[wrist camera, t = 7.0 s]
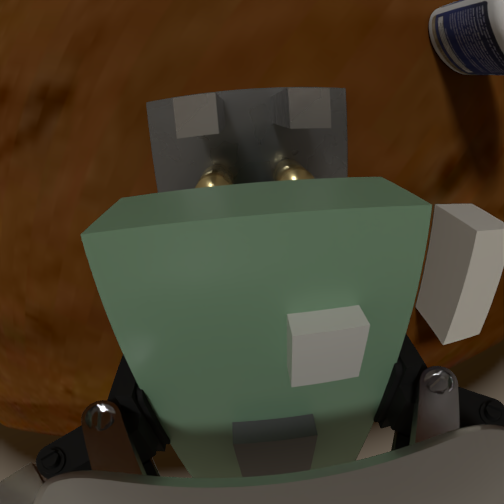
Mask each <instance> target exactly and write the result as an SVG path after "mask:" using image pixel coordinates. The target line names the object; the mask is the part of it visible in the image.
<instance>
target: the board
mask: <svg viewBox="0 0 504 504" xmlns="http://www.w3.org/2000/svg"><path fill="white" fill-rule="evenodd" d="M431 209H432V205H431V204H430V203H428V202H426V201H424V200H423V199H421V198H419V197H417V196H416V195H414V194H412V193H410V192H409V191H407V190H405V189H403V188H401V187H399V186H398V185H396V184H394V183H392V182H390V181H388V180H386V179H384V178H382V177H350V178H321V179H301V180H284V181H269V182H256V183H244V184H233V185H222V186H212V187H203V188H194V189H185V190H177V191H169V192H161V193H154V194H147V195H140V196H133V197H126V198H121V199H120V200H119V201H117V202H116V203H115V204H114V205H113V206H112V207H111V208H109V209H108V210H107V211H106V212H105V213H104V214H103V215H101V216H100V217H99V218H98V219H97V220H96V221H95V222H94V223H93V224H91V225H90V226H89V227H88V228H87V229H86V230H85V231H84V232H83V233H82V234H81V238H82V241H83V245H84V248H85V252H86V255H87V258H88V262H89V265H90V268H91V271H92V274H93V277H94V280H95V283H96V286H97V289H98V292H99V294H100V297H101V300H102V303H103V305H104V308H105V311H106V313H107V316H108V318H109V321H110V324H111V326H112V328H113V331H114V333H115V336H116V338H117V340H118V343H119V345H120V347H121V350H122V352H123V354H124V356H125V359H126V361H127V363H128V365H129V367H130V369H131V372H132V374H133V376H134V378H135V380H136V382H137V384H138V386H139V388H140V389H143V391H144V393H145V395H146V397H147V399H148V401H149V403H150V405H151V407H152V409H153V411H154V412H155V414H156V416H157V418H158V420H159V421H160V423H161V425H162V427H163V429H164V430H165V432H166V434H167V435H168V437H169V439H170V444H171V445H172V447H173V448H174V450H175V452H176V453H177V455H178V456H179V458H180V460H181V461H182V463H183V464H184V466H185V467H186V469H187V470H188V472H189V473H190V474H191V476H192V478H239V477H256V476H267V475H277V474H286V473H294V472H301V471H307V470H313V469H319V468H324V467H330V466H335V465H339V464H344V463H349V462H353V461H355V460H356V458H357V456H358V454H359V452H360V450H361V448H362V446H363V444H364V442H365V440H366V438H367V436H368V433H369V431H370V429H371V426H372V425H373V422H374V420H373V419H374V416H375V414H376V412H377V409H378V407H379V404H380V402H381V399H382V397H383V394H384V391H385V389H386V386H387V383H388V380H389V378H390V375H391V372H392V369H393V366H394V363H397V360H398V357H399V354H400V350H401V347H402V344H403V341H404V337H405V334H406V331H407V327H408V324H409V320H410V316H411V313H412V309H413V305H414V301H415V297H416V293H417V288H418V284H419V279H420V275H421V270H422V265H423V260H424V254H425V249H426V243H427V237H428V231H429V224H430V217H431Z"/></svg>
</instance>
